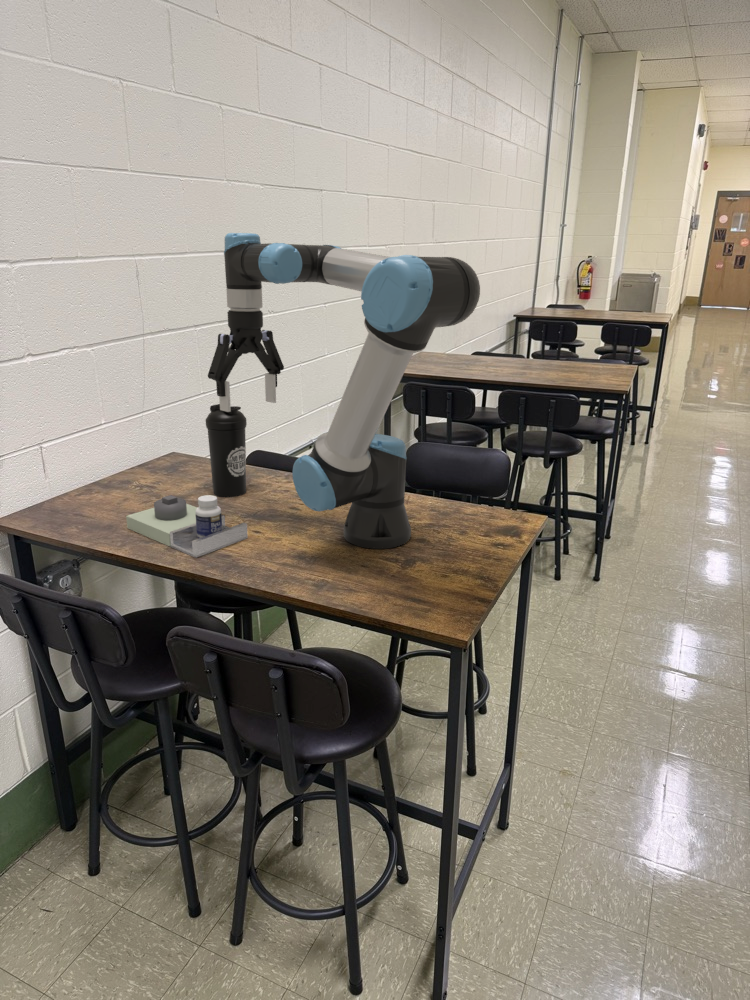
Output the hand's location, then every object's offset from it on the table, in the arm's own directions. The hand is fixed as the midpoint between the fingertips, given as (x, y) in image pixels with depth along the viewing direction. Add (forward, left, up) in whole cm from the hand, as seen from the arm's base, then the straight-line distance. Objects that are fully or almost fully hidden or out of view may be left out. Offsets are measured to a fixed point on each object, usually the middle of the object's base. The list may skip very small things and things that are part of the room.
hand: (248, 406), depth 156 cm
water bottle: (+18, -8, -27) cm, 33 cm away
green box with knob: (+8, +17, -27) cm, 33 cm away
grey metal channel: (-5, +17, -27) cm, 32 cm away
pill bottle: (-5, +17, -26) cm, 32 cm away
